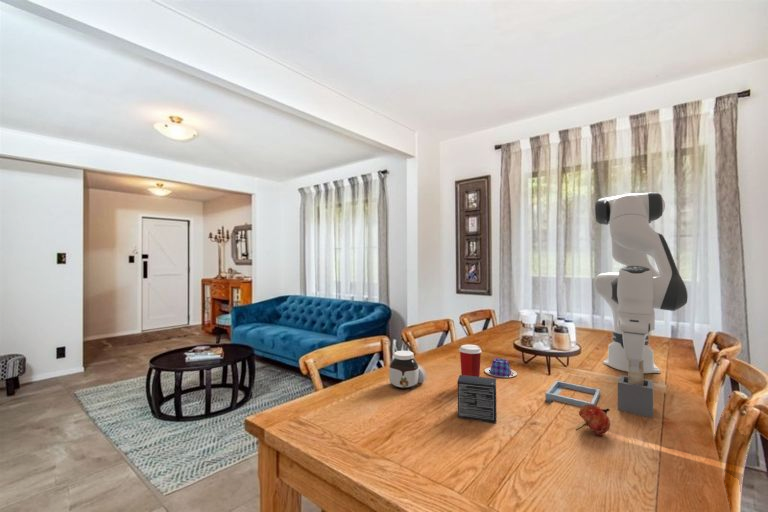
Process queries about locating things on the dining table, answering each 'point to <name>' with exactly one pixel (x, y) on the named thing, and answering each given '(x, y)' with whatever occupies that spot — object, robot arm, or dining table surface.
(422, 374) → the spread jar
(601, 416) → the pomegranate
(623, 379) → the grey open-top box
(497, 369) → the pudding
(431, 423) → the dining table surface
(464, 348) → the paper cup
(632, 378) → the maple dowel
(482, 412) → the small box
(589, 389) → the slate tray
